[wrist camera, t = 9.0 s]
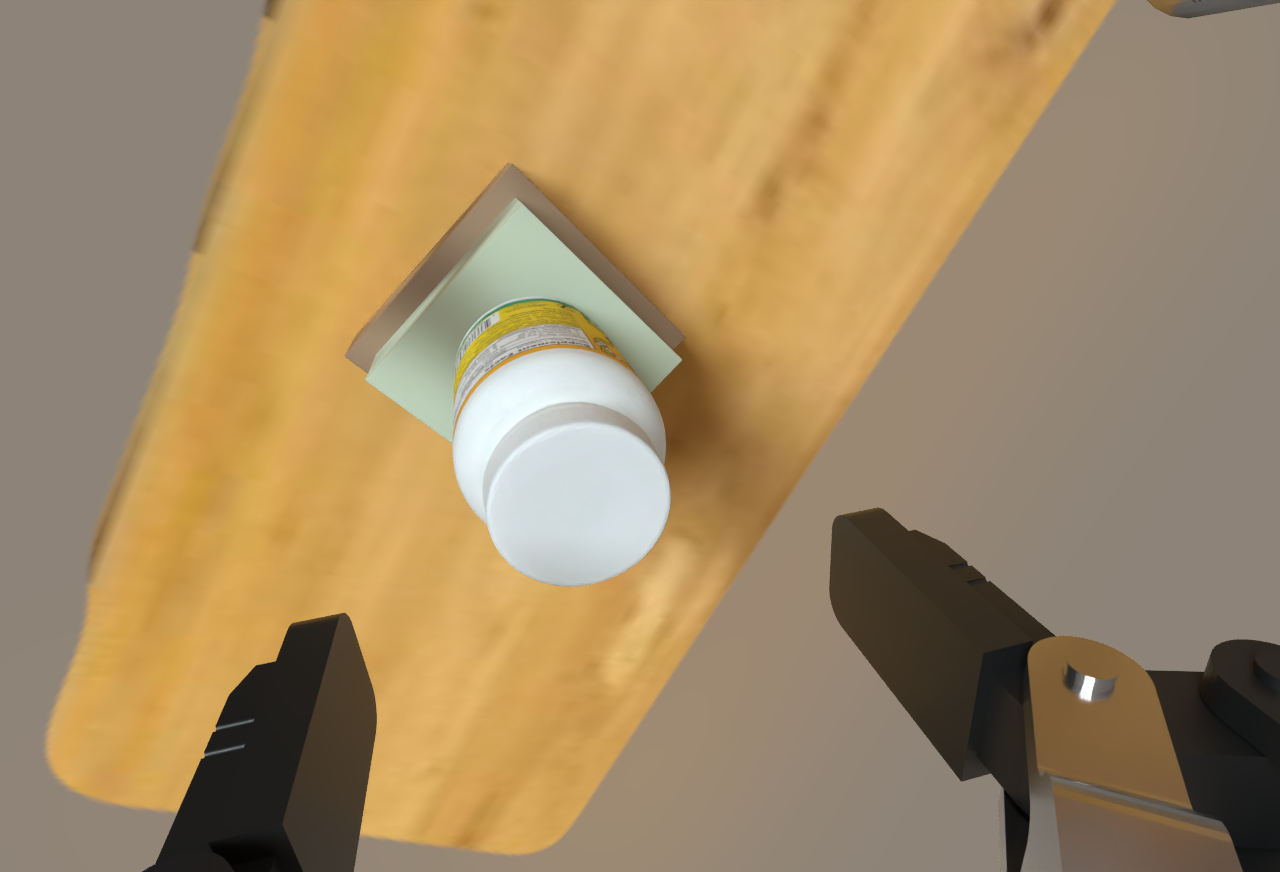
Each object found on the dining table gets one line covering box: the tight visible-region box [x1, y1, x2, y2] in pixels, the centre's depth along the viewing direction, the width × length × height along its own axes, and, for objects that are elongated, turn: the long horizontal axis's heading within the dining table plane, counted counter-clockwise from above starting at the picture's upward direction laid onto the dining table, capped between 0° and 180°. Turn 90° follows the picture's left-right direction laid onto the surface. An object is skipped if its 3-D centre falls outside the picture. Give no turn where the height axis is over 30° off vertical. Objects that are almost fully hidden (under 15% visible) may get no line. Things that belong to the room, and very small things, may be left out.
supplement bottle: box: [453, 296, 671, 586], centre depth 19 cm, size 5×5×10 cm
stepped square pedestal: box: [345, 163, 685, 444], centre depth 25 cm, size 9×9×6 cm
